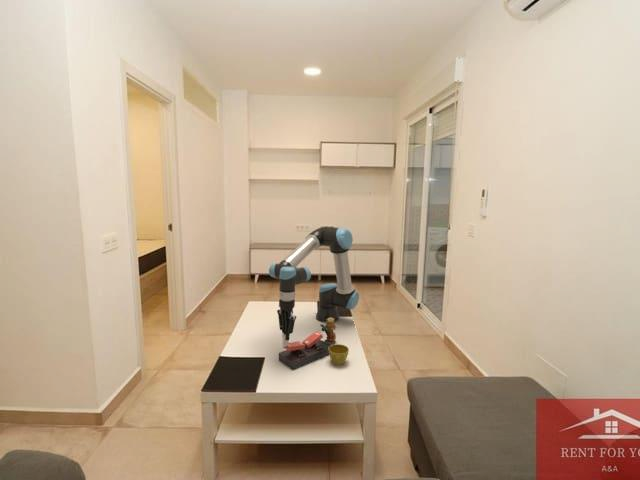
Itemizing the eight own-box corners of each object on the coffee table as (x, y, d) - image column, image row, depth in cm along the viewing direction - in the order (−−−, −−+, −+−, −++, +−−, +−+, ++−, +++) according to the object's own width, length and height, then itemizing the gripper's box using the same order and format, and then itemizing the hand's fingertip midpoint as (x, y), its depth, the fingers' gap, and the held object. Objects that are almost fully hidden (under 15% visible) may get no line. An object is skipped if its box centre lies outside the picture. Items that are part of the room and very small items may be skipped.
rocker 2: (316, 334, 184) (315, 330, 184) (322, 337, 181) (322, 334, 180) (302, 344, 179) (301, 341, 178) (309, 348, 175) (308, 345, 174)
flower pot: (328, 356, 175) (328, 343, 174) (347, 357, 175) (348, 344, 174) (327, 367, 165) (328, 353, 164) (348, 367, 165) (349, 354, 164)
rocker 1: (298, 345, 177) (299, 341, 177) (304, 348, 173) (305, 344, 173) (283, 347, 170) (283, 343, 170) (288, 351, 166) (289, 347, 166)
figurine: (338, 341, 193) (339, 316, 191) (333, 346, 186) (334, 320, 184) (323, 338, 197) (324, 313, 194) (318, 343, 190) (318, 317, 188)
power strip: (317, 345, 188) (318, 335, 187) (332, 353, 179) (333, 343, 178) (278, 360, 171) (278, 350, 170) (293, 370, 162) (293, 359, 161)
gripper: (272, 296, 167) (271, 342, 170) (288, 304, 157) (287, 352, 160) (285, 294, 172) (284, 338, 175) (301, 301, 162) (299, 348, 165)
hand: (285, 345), depth 168 cm, fingers closed
